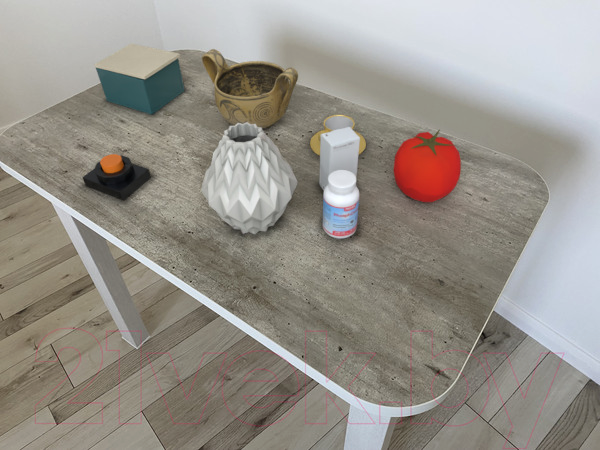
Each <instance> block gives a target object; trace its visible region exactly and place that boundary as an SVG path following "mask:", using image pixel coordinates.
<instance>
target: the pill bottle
mask: <svg viewBox="0 0 600 450" xmlns="http://www.w3.org/2000/svg"><path fill="white" fill-rule="evenodd" d="M322 196H323V197H322V229H323V231H324V232H325V233H326V234H327V235H328V236H330V237H331V238H334V239H346V238H350V237H351V236H353V235H354V234H355V233H356V230H357V228H358V227H357V226H358V217H359V205H360V191H359V188H358V186H357V176H355V175H354V174H353V173H352V172H350V171H347V170H337V171H334V172H332V173H331V174H330V175H329V177H328V185H327V186H326V187H325V189H324V190H323V195H322Z"/></svg>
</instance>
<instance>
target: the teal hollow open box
mask: <svg viewBox="0 0 600 450" xmlns="http://www.w3.org/2000/svg"><path fill="white" fill-rule="evenodd" d="M95 69H96V73H97V76H98V79H99V82H100V86H101V88H102V91H103V95H104V97H105V99H106V102H109V103H113V104H116V105H119V106H121V107H126V108H129V109H132V110H136V111H139V112H142V113H145V114H149V115H154V114H155V113H157V112H158V111H159V110H161V109H163V108H164V107H165V106H166V105H168V104H169V103H171V102H172V101H173V100H174V99H176V98H177V97H179V96H180V95H181V94H183V93H184V92H185V91H186V89H185V84H184V80H183V75H182V70H181V65H180V61H179V58H178V59H176V60H175V61H173V62H171V63H170V64H168V65H167V66H165V67H164V68H162V69H161V70H159V71H158V72H156V73H155V74H153V75H152V76H150V77H148V78H147V79H141V78H137V77H133V76H129V75H125V74H121V73H117V72H112V71H108V70H104V69H100V68H96V67H95Z"/></svg>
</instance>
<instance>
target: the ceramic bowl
mask: <svg viewBox="0 0 600 450" xmlns="http://www.w3.org/2000/svg"><path fill="white" fill-rule="evenodd" d="M201 62H202V64H203V67H204V69H205V71H206V73H207V74H208V76H209V78H210V80H211V82H212V83H213V85H214V86H213V87H214V88H213V93H214V94H213V95H214V101H215V104H216V107H217V110H218V111H219V113H220V115H221V116H222V118H224V120H225V121H227V122H228V123H229V124H230V125H231V126H235V125H236V124H237V123H241V124H244V123H246V122H248V123H249V124H256V125H257V127H261V128H262V130H263V129H266V128H269V127H271V126H273V125H274V124H275V123H277V122H278V121H279V120H280V119H281V118H282V117H284V115H285V113H286V112H287V110H288V107H289V104H290V101H291V99H292V98H291V97H292V94H293V92H294V89H295V88H296V85H297V82H298V80H299V79H298V78H299V74H298V70H297V69H295V68H294V67H287V68H286V69H284V68H283V66H281V65H279V64H276V63H275V62H271V61H266V60H265V61H263V60H252V61H251V60H249V61H248V60H247V61H242V62H238V63H234V64H233V65H228V64H227V62H226V59H225V58H224V55H223V54H222V53H221V52H220V51H219V50H218V49H215V48H211V49H209V50H208V51H207V52H205V53H204V54H203V55H202V56H201Z"/></svg>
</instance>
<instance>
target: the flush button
mask: <svg viewBox="0 0 600 450" xmlns="http://www.w3.org/2000/svg"><path fill="white" fill-rule="evenodd" d="M99 162H100V164H101V166H102V169H103V171H104V172H105V173H115V172H118V171H120V170H121V169H123V167H124V164H123V161H122V158H121V156H120V154H117V153H112V154H107V155H105V156H103V157H102V158H101V159H100V160H99Z"/></svg>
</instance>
